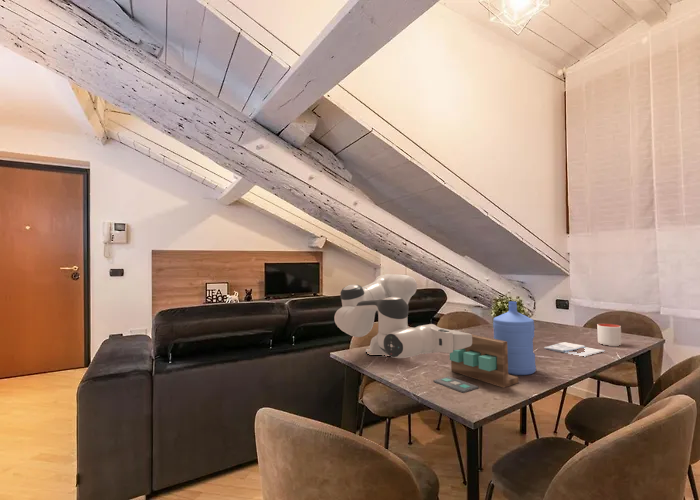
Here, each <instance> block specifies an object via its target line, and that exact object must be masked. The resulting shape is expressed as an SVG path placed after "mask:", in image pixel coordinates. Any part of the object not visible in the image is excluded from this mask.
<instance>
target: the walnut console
mask: <svg viewBox="0 0 700 500" xmlns="http://www.w3.org/2000/svg"><path fill="white" fill-rule="evenodd" d="M470 334H471V335H472V345H471V346H470V347H467V348H464V349H466V352H468V351H472V350H473V351H477V352H481V356H482V355H486V354H489V355H493V356H497V369H496V370H492V371H486V370H483V369H479V365H478V366H474V367H472V366H469V365H465V364H464V361H463V362H459V363H458V362H455V361H451V360H450V364H451V366H450V367H451V370H450V371H451V372H453V373H456V374H460V375H462V376H466V377H469V378H471V379H476V380H479V381H480V382H481V381H482V382H484V383H488V384H491V385H495V386H497V387H500V388H506V387H509V386H512V385H516V384H519V377H518V376H517V375H513V374H508V349H507V341H502V340H497V339H494V338H491V337H487V336H482V335H476V334H472V333H470Z"/></svg>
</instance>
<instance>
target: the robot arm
mask: <svg viewBox="0 0 700 500" xmlns="http://www.w3.org/2000/svg"><path fill="white" fill-rule="evenodd" d="M417 290H418V282H417V280H416V279H415V277H413V276H411V275H407V274H400V273H396V274H395V273H385V274H381V275H378V276H377V277H376V278H375V279H374V281H373V282H371V283H368V284H367V285H366V284H365V285H364V286H361V285H359V284H349V285H346V286H345V287H343V288H342V289H341V291H340V300H341V305H342V306H341V307H340V308H338V309H337V310H336V312H335V313H334V323H335V326H337V328H339V330H341V331H342V332H344V333H345V334H347V335H349V336H351V337H355V338H362V337H365V336H367V335H368V334H369V333H370V332H371V330H373V327H374V322H375V317H376V314H377V315H378V317H377V318H378V319H377V320H378V325H377V326H378V327H377V328H378V329H377V330H378V331H377V334H376V335H375V336H373V337H372V338H371V339H370V343H369V347H370V349H367V348H366V349H365V353H366V352H371V353H368V354H373V355H389V356H391V357H390V358H393V359H394V358H395V359H405V358H406V359H407V358H411V357H412V358H413V357H417V356H419V355H422V354H423V355H426V354H435V353H443V354H450V353H452V352H453V350H459V349H463V348H467V347H470V346H471V345H472V335H473V334H472V333H468V332H464V331H462V330H458V329H447V328H442V327H439V326H438V325H436V324H433V323H429V324H423V325H418V326H416V327H412V326H411V327H410V326H409V324H408V317H409V316H408V315H409V307H410V306H409V303H410V300H411V298H412V296H414V295H416V292H417ZM471 334H472V335H471Z"/></svg>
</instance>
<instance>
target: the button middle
mask: <svg viewBox="0 0 700 500" xmlns="http://www.w3.org/2000/svg"><path fill="white" fill-rule="evenodd" d="M479 356H481V352H477V351H473V350H472V351H468V352H464V353H463V358H464V364H465V365H469V366H472V367H474V366H478V365H479Z"/></svg>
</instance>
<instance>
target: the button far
mask: <svg viewBox="0 0 700 500" xmlns="http://www.w3.org/2000/svg"><path fill="white" fill-rule="evenodd" d="M464 352H466V349H464V348H463V349H459V350H453V352H452V353H449V361H450V362H451V361H455V362H458V363H459V362H463V361H464V358H463V353H464Z"/></svg>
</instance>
